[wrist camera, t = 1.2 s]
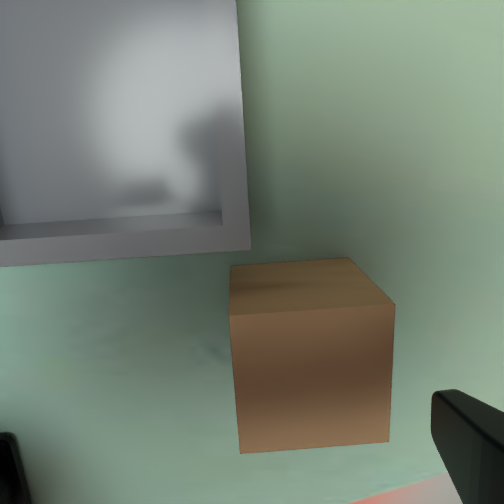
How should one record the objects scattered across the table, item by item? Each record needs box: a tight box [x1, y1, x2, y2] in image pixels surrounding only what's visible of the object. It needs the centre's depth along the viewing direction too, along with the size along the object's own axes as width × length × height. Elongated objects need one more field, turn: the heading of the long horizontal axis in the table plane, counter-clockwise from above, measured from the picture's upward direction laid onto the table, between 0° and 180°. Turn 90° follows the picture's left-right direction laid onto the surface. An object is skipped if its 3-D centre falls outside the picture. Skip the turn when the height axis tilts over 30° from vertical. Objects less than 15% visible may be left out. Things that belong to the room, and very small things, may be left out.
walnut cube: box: [229, 258, 395, 454], centre depth 17 cm, size 6×6×6 cm
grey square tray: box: [0, 0, 252, 267], centre depth 15 cm, size 12×12×4 cm
